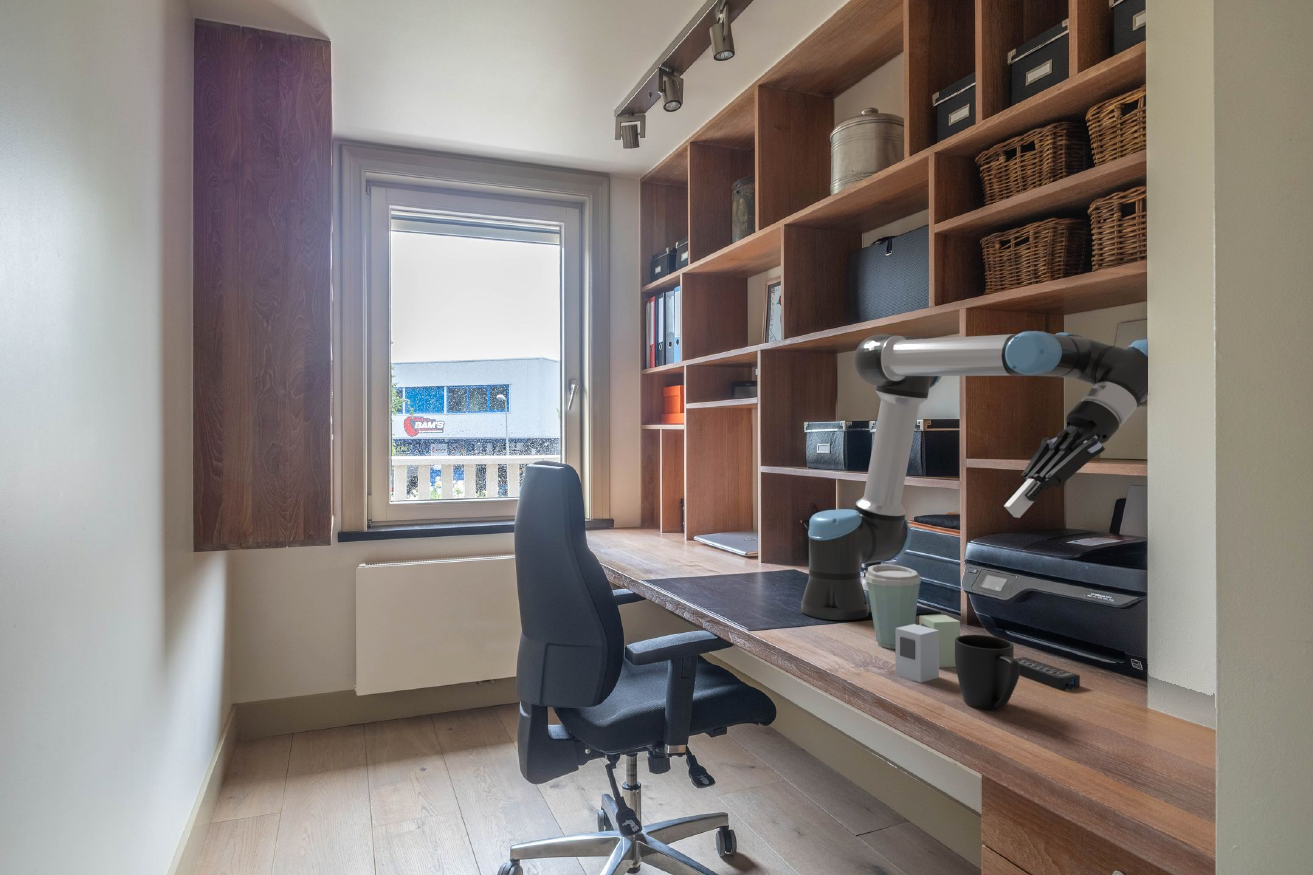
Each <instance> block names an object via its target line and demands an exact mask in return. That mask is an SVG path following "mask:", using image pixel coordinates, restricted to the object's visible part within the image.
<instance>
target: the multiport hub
mask: <svg viewBox="0 0 1313 875" xmlns="http://www.w3.org/2000/svg"><path fill="white" fill-rule="evenodd" d="M1014 659H1016V660H1017V661H1018V662H1019V665H1020V675H1019V677H1023V678H1025V679H1028V680H1031V681H1033V682H1036V683H1039V684H1042V685H1044V686H1047V687H1050V688H1053V689H1056V690H1058V691H1063V692H1064V691H1069V690H1075V689H1080V688H1081V676H1080V675H1079V674H1078V673H1074V672H1072V671H1068V670H1066V669H1062V668H1060V667H1057V666H1053V665H1050V664H1047V663H1044V662H1040V661H1037V660H1036V659H1032V658H1029V657H1024V656H1022V657H1016V658H1014Z"/></svg>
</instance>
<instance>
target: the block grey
mask: <svg viewBox="0 0 1313 875" xmlns="http://www.w3.org/2000/svg"><path fill="white" fill-rule="evenodd" d="M895 675H896V676H898V677H901V678H904V679H908V680H910V681H913V682H917V683H921V684H922V683H924V682H928V681H931V680H935V679H938V678H940V667H939V630H936V629H932V628H928V627H924V626H920V625H919V624H916V623H915V624H912V625H907V626H903V627H898V628H896V649H895Z"/></svg>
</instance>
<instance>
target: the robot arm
mask: <svg viewBox="0 0 1313 875" xmlns="http://www.w3.org/2000/svg"><path fill="white" fill-rule="evenodd" d="M1148 340H1149V339H1147V338H1146V339H1137V340H1135V341H1133V342H1132V343H1131V344H1129V345H1128V346H1127V347H1126V348H1124V347H1120V346H1116V345H1110V344H1108V343H1104V342H1100V341H1098V340H1097V341H1096V340H1094V339H1090V338H1087V337H1084V336H1082V335H1080V334H1074V333H1067V332H1063V331H1062V332H1058V333H1056V334H1054V333H1049V332H1046V331H1042V330H1041V331H1040V330H1031V331H1030V330H1027V331H1022V332H1020V333H1018V334H1017V333H1016V334H1014V333H1013V334H996V335H992V334H991V335H990V334H989V335H977V336H976V335H974V336H958V337H957V336H956V337H955V336H954V337H940V338H939V337H937V338H934V337H933V338H920V337H917V336H905V335H893V334H888V333H886V334H885V333H879V334H874V335H871V336H869V337H867V338H865V339H864V340H863V341H861V343H859V345H858V347H857V348H856V351H855V353H854V358H853V359H854V368H855V370H856V373H857V374H858V375H859V377H860V378H861V379H862V380H863V381H865V382H866V383H867V384H870V385H873V386H876V387H875V392H876V394H877V395H878V397H879V398H880V404H879V409H878V414H877V420H876V425H875V426H876V427H875V430H874V431H875V432H874V437H873V442H872V449H871V455H870V460H869V465H868V470H867V478H866V482H865V487H864V488H865V489H864V493H863V494H864V495H863V496H862V497H861V498H860V499H858V500H857V501H856V502H855V506H854V509H850V508H849V509H847V508H844V509H843V508H839V509H838V508H837V509H828V510H821V511H819V512H816V513H814V514H813V515H812V516H811V517H810V518H809V526H808V531H807V535H808V580H807V584H806V586H805V590H804V594H803V597H802V599H801V602H800V604H801V607H800V608H801V613H803V614H805V615H806V616H809V617H813V618H817V619H823V620H831V621H851V620H860V619H863V618H864V619H865V618H866V617H868V616H869V615H870V613H869V610H870V609H869V606H870V605H869V603H868V600H867V597H866V592H865V589H864V587H863V586H864V585H863V584H862V579H861V577H862V576H861V572H862V570H861V567H862V566H861V565H865V564H871V563H885V562H889V561H891V560H895V559H897V558H900V557H901V556H902V555H904V554H905V553H906V551H907V550H908V549H909V546H910V544H911V541H912V529H911V527H910V526H909V524H910V523H909V521H908V519H907V518H906V514H907V511H906V510H905V508H904V506H903V505H902V498H903V492H904V488H905V481H906V477H907V472H908V471H907V470H908V465H909V461H910V457H911V456H910V455H911V449H912V445H913V440H914V434H915V430H916V424H917V418H918V413H919V407H920V406H921V404H922V403H924V402H926V401H927V400H928V397H929V393H930V389H931V388H933V387H934V386H936V384H937V383H940V380H941V378H942V377H956V376H957V377H963V376H964V377H968V376H969V377H973V376H974V377H975V376H976V377H977V376H981V377H982V376H984V377H985V376H990V377H991V376H992V377H993V376H996V377H997V376H998V377H999V376H1007V377H1008V376H1015V377H1022V376H1024V377H1026V376H1027V377H1029V376H1030V377H1032V376H1033V377H1034V376H1037V377H1054V378H1063V379H1064V378H1066V379H1074V380H1078V381H1081V382H1084V383H1089V384H1092V388H1091V389H1090V390H1089V391H1088V392H1087V393H1086V394H1085V395H1084V396H1083V397H1082V398H1081V400H1080V401H1079V402H1077V404H1075V406H1074V407H1072V409H1071V410H1070V411H1069V412H1068V414H1067V415H1066V417H1065V421H1066V426H1065V428H1064V429H1063V430H1060V432H1059V433H1058V434H1056V437H1054V438H1052V439H1050V438H1049V437H1044V438H1042V439H1041V443H1040V446H1039V448H1038V449H1037V451H1036V452H1035V454H1034V455H1033V457H1032V458H1031V460H1030V461H1029V463H1028V464H1027V465H1026V467H1025V468H1024V469H1023V472H1022V473H1021V476H1022V478H1024V479H1025V481H1024V483H1023V484H1022V485H1021V486H1020V487H1019V488H1018V489H1017V490H1016V492H1015V493H1014V494H1012V496H1011V497H1010V498H1009V499H1008V501H1006V503H1005V504H1004V505H1003V507H1004V508H1005V509H1006V510H1007V511H1008V512H1009V513H1010V514H1011V515H1012V517H1014V518H1018V519H1020V518H1021V517H1022V516H1023V515H1024V513H1026V512H1027V510H1028V509H1029V508H1030V507H1031V506H1032V505H1033V503H1034V502H1036V500H1038V499H1039V497H1041V495H1042V494H1043V493H1044V492H1045V491H1047V490H1049V489H1051V488H1052V487H1054V488H1056V489H1058V488H1060V487H1061V486H1062V485H1063V484H1065V483H1066V482H1067V481H1068V480H1069V479H1070V478H1071V477H1073V476H1074V475H1075V474H1076V473H1077V472H1078V471H1080V469H1082V468H1083V467H1084V466H1085V465H1087V464H1088V463H1089V462H1090V461H1091V460H1093V458H1095V457H1096V456H1098V455H1100V454H1101V453H1103V452H1104V451H1105V450H1106V448H1105V447H1104V445H1102V444H1105V443H1107V442H1108V441H1109V440H1110V439H1111V438H1112V437H1113V435H1114V434H1115V433H1116V432H1117V431H1118V430H1119V428H1120V427H1121V426H1122V425H1124V424H1125V422H1126V421H1127V420H1128V419H1129V418H1130V417H1131V416H1132V414H1133V413H1134V412H1135V411H1136V410H1137V409H1138V407H1139V406H1140V404H1141V403H1142V402H1143V401H1144V400H1145V399H1146V398H1147V397H1148V396H1149V395H1148Z"/></svg>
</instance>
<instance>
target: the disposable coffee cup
mask: <svg viewBox="0 0 1313 875" xmlns="http://www.w3.org/2000/svg"><path fill="white" fill-rule="evenodd" d="M864 581H865V582H866V585H867V591H868V598H869V602H870V605H869V606H870V609H871V616H872V621H873V622H872V623H873V627H874V634H875V640H876V642H877V644H878V646H879V647H882V648H884V649H890V650H896V628H898V627H903V626H907V625H912V624H916V623H915V622H916V617H917V610H918V609H917V608H918V601H919V593H920V586H921V583H922V581H921V576H920V574H919V573H918V571H916V570H914V569H912V568H909V567H907V566H902V565H898V564H897V565H896V564H884V563H883V564H875V565H871V566H868V568H867V572H866V573H865V576H864Z"/></svg>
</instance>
